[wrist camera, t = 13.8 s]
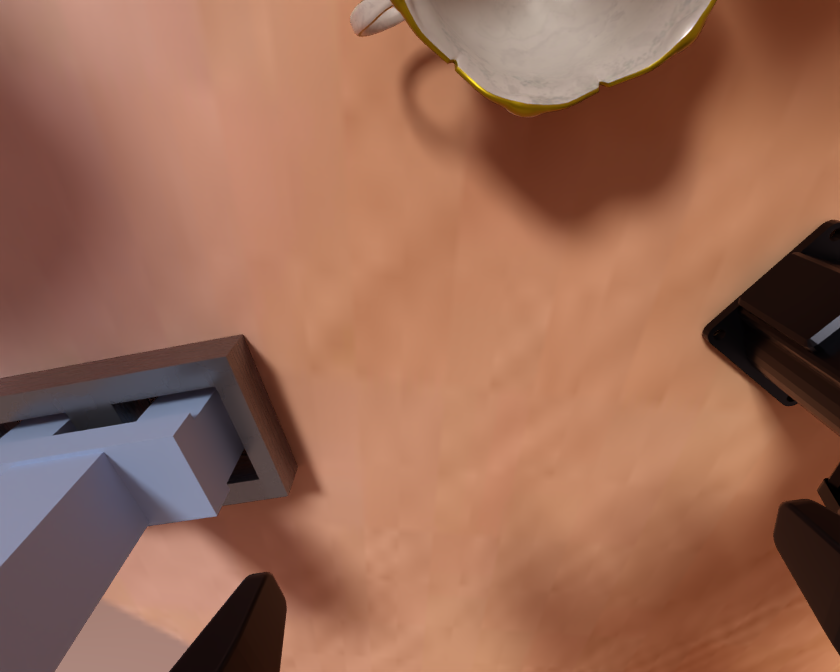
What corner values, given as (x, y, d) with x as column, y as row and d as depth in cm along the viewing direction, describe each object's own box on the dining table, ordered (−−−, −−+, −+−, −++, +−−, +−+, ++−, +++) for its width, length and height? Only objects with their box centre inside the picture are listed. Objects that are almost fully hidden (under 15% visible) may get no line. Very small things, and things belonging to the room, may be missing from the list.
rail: (242, 334, 21) (225, 356, 19) (297, 467, 24) (288, 496, 23) (-33, 384, 22) (-72, 409, 20) (59, 503, 26) (31, 533, 24)
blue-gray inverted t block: (218, 373, 22) (-52, 741, 9) (251, 445, 24) (65, 827, 11) (25, 407, 23) (-456, 784, 10) (73, 474, 25) (-283, 858, 12)
